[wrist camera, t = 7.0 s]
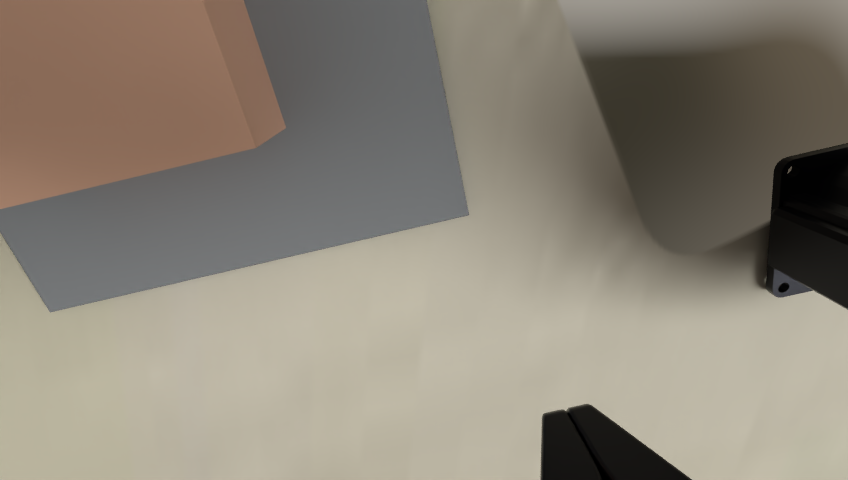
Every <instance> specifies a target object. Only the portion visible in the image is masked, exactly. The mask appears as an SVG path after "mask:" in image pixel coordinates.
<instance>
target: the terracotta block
mask: <svg viewBox="0 0 848 480" xmlns="http://www.w3.org/2000/svg"><path fill="white" fill-rule="evenodd" d="M285 128H286V126H285V123H284V120H283V117H282V114H281V111H280V108H279V105H278V102H277V99H276V96H275V93H274V90H273V87H272V84H271V81H270V78H269V75H268V72H267V69H266V66H265V63H264V60H263V57H262V54H261V51H260V48H259V45H258V42H257V39H256V36H255V33H254V30H253V27H252V24H251V21H250V18H249V15H248V12H247V9H246V6H245V3H244V0H0V209H3V208H8V207H12V206H16V205H20V204H24V203H28V202H33V201H37V200H41V199H45V198H49V197H53V196H58V195H62V194H66V193H70V192H74V191H79V190H83V189H87V188H91V187H95V186H99V185H104V184H108V183H112V182H116V181H120V180H124V179H129V178H133V177H137V176H141V175H145V174H149V173H154V172H158V171H162V170H166V169H170V168H175V167H179V166H183V165H187V164H191V163H195V162H200V161H204V160H208V159H212V158H216V157H220V156H225V155H229V154H233V153H237V152H241V151H245V150H250V149H254V148H257V147H258V146H260V145H261V144H263V143H264V142H266V141H267V140H269V139H270V138H272V137H273V136H275V135H276V134H278V133H279V132H281V131H282V130H284V129H285Z"/></svg>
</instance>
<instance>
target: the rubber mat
mask: <svg viewBox="0 0 848 480" xmlns="http://www.w3.org/2000/svg"><path fill="white" fill-rule="evenodd" d="M244 3H245V6H246V9H247V12H248V15H249V18H250V21H251V24H252V27H253V30H254V33H255V36H256V39H257V42H258V45H259V48H260V51H261V54H262V57H263V60H264V63H265V66H266V69H267V72H268V75H269V78H270V81H271V84H272V87H273V90H274V93H275V96H276V99H277V102H278V105H279V108H280V111H281V114H282V117H283V120H284V123H285V126H286V128H285V129H284V130H282V131H281V132H279V133H278V134H276V135H275V136H273V137H272V138H270V139H269V140H267V141H266V142H264V143H263V144H261V145H260V146H258V147H257V148H254V149H250V150H245V151H241V152H237V153H233V154H229V155H225V156H220V157H216V158H212V159H208V160H204V161H200V162H195V163H191V164H187V165H183V166H179V167H175V168H170V169H166V170H162V171H158V172H154V173H149V174H145V175H141V176H137V177H133V178H129V179H124V180H120V181H116V182H112V183H108V184H104V185H99V186H95V187H91V188H87V189H83V190H79V191H74V192H70V193H66V194H62V195H58V196H53V197H49V198H45V199H41V200H37V201H33V202H28V203H24V204H20V205H16V206H12V207H8V208H3V209H0V232H1V234H2V236H3V237H4V239H5V240H6V242H7V244H8V245H9V247H10V249H11V250H12V252H13V253H14V255H15V257H16V258H17V260H18V261H19V263H20V265H21V266H22V268H23V269H24V271H25V273H26V274H27V276H28V277H29V279H30V281H31V282H32V284H33V286H34V287H35V289H36V290H37V292H38V294H39V295H40V297H41V298H42V300H43V302H44V303H45V305H46V306H47V308H48V310H49V311H50V312H54V311H58V310H62V309H66V308H71V307H75V306H79V305H84V304H88V303H92V302H97V301H101V300H105V299H110V298H114V297H118V296H122V295H127V294H131V293H135V292H140V291H144V290H148V289H153V288H157V287H161V286H166V285H170V284H174V283H179V282H183V281H187V280H191V279H196V278H200V277H204V276H209V275H213V274H217V273H222V272H226V271H230V270H235V269H239V268H243V267H247V266H252V265H256V264H260V263H265V262H269V261H273V260H278V259H282V258H286V257H291V256H295V255H299V254H303V253H308V252H312V251H316V250H321V249H325V248H329V247H334V246H338V245H342V244H347V243H351V242H355V241H359V240H364V239H368V238H372V237H377V236H381V235H385V234H390V233H394V232H398V231H403V230H407V229H411V228H415V227H420V226H424V225H428V224H433V223H437V222H441V221H446V220H450V219H454V218H459V217H463V216H467V215H469V212H468V207H467V202H466V197H465V192H464V187H463V182H462V177H461V172H460V167H459V162H458V157H457V152H456V147H455V142H454V137H453V131H452V126H451V121H450V116H449V111H448V106H447V101H446V96H445V91H444V86H443V81H442V76H441V71H440V66H439V61H438V56H437V51H436V46H435V41H434V36H433V31H432V25H431V20H430V15H429V10H428V5H427V0H244Z"/></svg>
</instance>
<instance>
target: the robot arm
mask: <svg viewBox="0 0 848 480" xmlns="http://www.w3.org/2000/svg"><path fill="white" fill-rule="evenodd" d="M791 166H792V170H791V171H790V172H789V173H788V174H787V172H788V169H789V168H790V167H791ZM772 193H773V194H772V207H771V221H770V236H769V250H768V265H767V280H766V289H767V290H768V292H770V293H771V294H773V295H774V296H776V297H786V296H790V295H795V294H799V293H804V292H808V291H813V290H814V291H815V292H817V293H819V294H821V295H823V296H824V297H826V298H828V299H830V300H831V301H833V302H835V303H837V304H839V305H840V306H842V307H844V308H846V309H847V310H848V143H846V144H842V145H838V146H833V147H829V148H825V149H820V150H816V151H811V152H807V153H803V154H799V155H794V156H790V157H786V158H784V159H782V160H781V161H779V162H778V163H777V165H776V166H775V169H774V178H773V192H772ZM781 284H782V285H781ZM780 285H781V286H780ZM779 286H780V287H779ZM778 287H779V288H778ZM541 480H692V479H690V478H689V477H688V476H686V475H685V474H684V473H682V472H681V471H680V470H678V469H677V468H675V467H674V466H673V465H671V464H670V463H669V462H667V461H666V460H665V459H663V458H662V457H661V456H659V455H658V454H657V453H655V452H654V451H653V450H651V449H650V448H648V447H647V446H646V445H644V444H643V443H642V442H640V441H639V440H638V439H636V438H635V437H634V436H632V435H631V434H630V433H628V432H627V431H626V430H624V429H623V428H621V427H620V426H619V425H617V424H616V423H615V422H613V421H612V420H611V419H609V418H608V417H607V416H605V415H604V414H603V413H601V412H600V411H599V410H597V409H596V408H594V407H593V406H592V405H589V404H584V405H580V406H575V407H571V408H568V409H567V411H565V410H557V411H552V412H548V413H544V414H543V416H542V443H541Z"/></svg>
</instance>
